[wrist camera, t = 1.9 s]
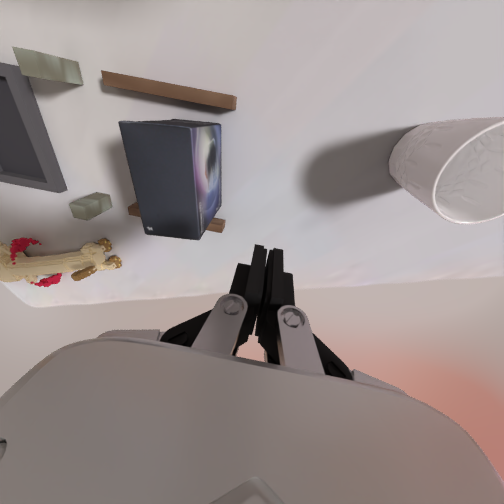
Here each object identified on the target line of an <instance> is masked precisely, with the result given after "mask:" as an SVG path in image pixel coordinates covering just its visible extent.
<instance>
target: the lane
mask: <svg viewBox="0 0 504 504" xmlns="http://www.w3.org/2000/svg"><path fill="white" fill-rule="evenodd" d="M12 48H13V51H14V53H15V56H16V59H17V62H18V64H19V67H20V70H21V73H22V75H25V76H31V77H36V78H41V79H47V80H54V81H61V82H67V83H74V84H81V85H83V81H82V77H81V72H80V68H79V64H78V62H76V61H72V60H68V59H64V58H60V57H56V56H53V55H49V54H45V53H41V52H37V51H33V50H28V49H23V48H17V47H12ZM101 73H102V78H103V83H104V85H107V86H112V87H117V88H122V89H128V90H133V91H138V92H143V93H148V94H154V95H159V96H164V97H169V98H174V99H180V100H185V101H190V102H195V103H200V104H206V105H211V106H216V107H221V108H226V109H232V110H236V99H237V97H235V96H233V95H227V94H222V93H217V92H212V91H206V90H201V89H196V88H191V87H186V86H180V85H175V84H170V83H165V82H159V81H154V80H149V79H144V78H139V77H133V76H128V75H123V74H118V73H112V72H107V71H102V70H101ZM69 206H70V208H71V211H72V214H73V217H74V218H78V219H83V220H90V219H92V218H93V217H95V216H97V215H99V214H101V213H103V212H104V211H106V210H108V209H110V208H112V203H111V199H110V195H108V194H103V193H98V192H96V193H94V194H91V195H89V196H87V197H84V198H82V199H80V200H77V201H75V202H72V203H70V204H69ZM128 212H129V215H133V216H138V217H141V215H140V210H139V206H138V203H137V202H135V203H134V204H132V205H130V206H129V207H128ZM224 227H225V220H223V219H218V218H213V219H212V221H211V222H210V224H209V225H208V227H207V229H206V230H209V231H214V232H219V233H222V231H223V229H224Z"/></svg>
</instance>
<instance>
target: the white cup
mask: <svg viewBox="0 0 504 504" xmlns="http://www.w3.org/2000/svg"><path fill="white" fill-rule="evenodd" d="M389 172H390V175H391V176H392V177H393V178H394V180H395V181H396V182H397V183H398V184H400V185H401V186H402V187H403V188H404V189H405V190H406V191H408V192H409V193H410V194H411V195H412V196H414V197H415V198H416V199H418V200H419V201H420V202H422V203H423V204H424V205H426V206H427V207H429V208H430V209H431V210H433V211H434V212H435V213H436V214H438V215H439V216H440V217H442V218H443V219H445V220H447V221H449V222H453V223H457V224H476V223H482V222H486V221H489V220H493V219H496V218H498V217H501V216H503V215H504V117H490V118H471V119H458V120H447V121H437V122H431V123H426V124H421V125H419V126H417V127H416V128H414V129H412V130H411V131H409V132H408V133H406V134H405V135H404V136H403V137H402V138H401V139H400V141H399V142H398V143H397V144H396V145H395V146H394V148H393V151H392V153H391V156H390V159H389Z"/></svg>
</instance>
